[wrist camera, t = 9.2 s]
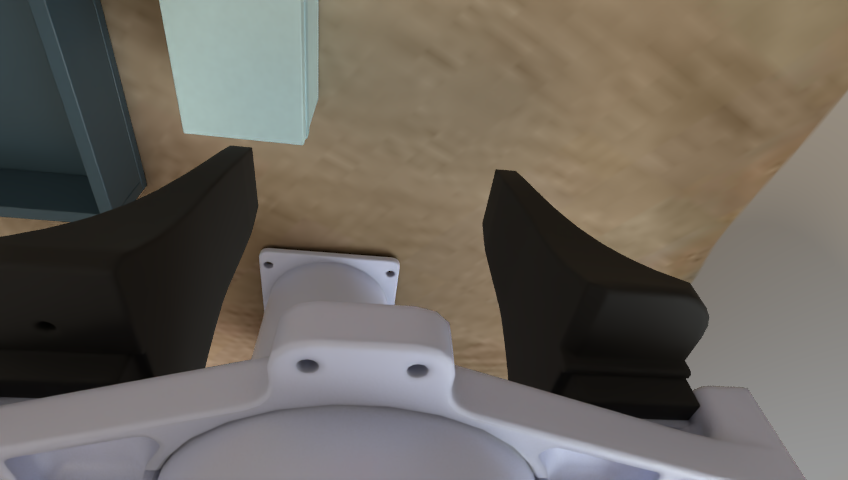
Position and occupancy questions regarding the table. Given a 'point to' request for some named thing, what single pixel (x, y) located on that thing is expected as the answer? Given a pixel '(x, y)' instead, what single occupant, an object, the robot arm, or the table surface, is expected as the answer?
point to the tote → (62, 114)
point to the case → (244, 66)
